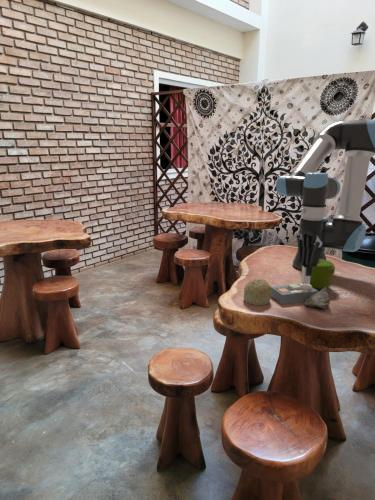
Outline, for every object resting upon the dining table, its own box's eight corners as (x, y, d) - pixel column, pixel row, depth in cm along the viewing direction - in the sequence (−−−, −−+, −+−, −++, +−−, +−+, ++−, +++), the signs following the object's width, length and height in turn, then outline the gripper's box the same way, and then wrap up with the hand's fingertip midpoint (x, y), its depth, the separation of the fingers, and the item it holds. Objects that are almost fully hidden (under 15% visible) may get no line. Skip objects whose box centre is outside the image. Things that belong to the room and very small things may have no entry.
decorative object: (255, 316, 123) (274, 296, 119) (233, 296, 126) (251, 275, 122) (263, 309, 131) (281, 289, 127) (242, 290, 134) (259, 270, 130)
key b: (295, 289, 131) (296, 283, 131) (300, 292, 128) (301, 286, 128) (287, 289, 130) (288, 284, 130) (292, 293, 127) (293, 287, 127)
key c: (284, 293, 130) (285, 288, 130) (289, 296, 127) (289, 291, 127) (276, 294, 130) (277, 288, 129) (281, 297, 127) (281, 292, 126)
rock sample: (298, 289, 128) (319, 277, 123) (311, 300, 131) (332, 289, 126) (301, 311, 120) (324, 300, 115) (315, 323, 123) (338, 312, 118)
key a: (306, 287, 133) (306, 282, 132) (311, 291, 130) (311, 285, 129) (298, 288, 132) (298, 283, 131) (303, 291, 129) (304, 286, 128)
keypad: (304, 291, 136) (305, 282, 135) (317, 299, 128) (318, 289, 127) (270, 295, 132) (270, 285, 131) (281, 304, 124) (282, 293, 123)
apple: (294, 281, 147) (297, 254, 144) (323, 280, 148) (326, 254, 145) (307, 292, 135) (310, 263, 132) (338, 292, 136) (342, 263, 133)
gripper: (291, 215, 129) (286, 278, 135) (314, 222, 117) (306, 290, 123) (310, 215, 131) (303, 277, 137) (333, 221, 119) (325, 288, 125)
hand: (305, 283), depth 130 cm, fingers closed
